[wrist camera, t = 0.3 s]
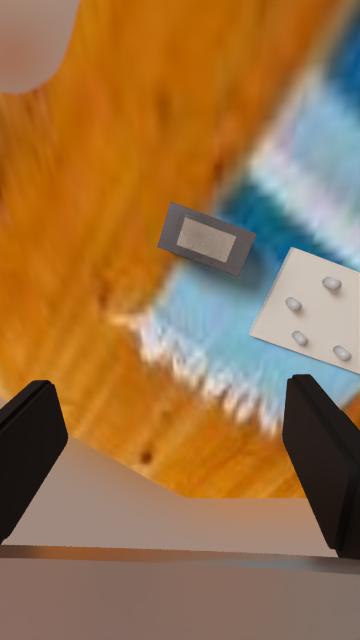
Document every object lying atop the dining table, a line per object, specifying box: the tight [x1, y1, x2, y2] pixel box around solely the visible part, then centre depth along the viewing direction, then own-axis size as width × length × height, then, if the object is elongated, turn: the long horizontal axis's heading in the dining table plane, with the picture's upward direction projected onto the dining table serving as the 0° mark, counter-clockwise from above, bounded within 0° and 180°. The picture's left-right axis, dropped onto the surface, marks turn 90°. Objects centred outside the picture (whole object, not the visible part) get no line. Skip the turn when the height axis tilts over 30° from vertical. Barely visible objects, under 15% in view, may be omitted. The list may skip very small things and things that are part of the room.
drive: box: [157, 202, 256, 276], centre depth 31 cm, size 5×10×8 cm, turn 71°
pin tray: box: [249, 247, 360, 374], centre depth 36 cm, size 14×20×4 cm
